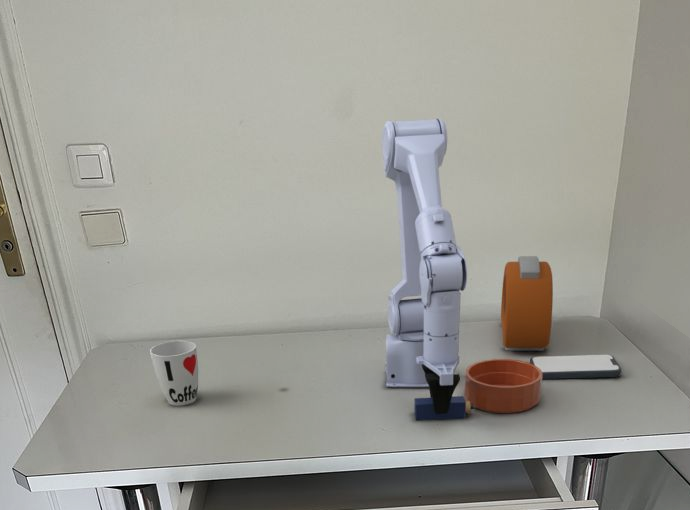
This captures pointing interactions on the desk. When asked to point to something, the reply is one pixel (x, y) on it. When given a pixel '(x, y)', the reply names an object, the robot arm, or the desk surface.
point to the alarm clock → (527, 304)
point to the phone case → (577, 366)
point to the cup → (176, 370)
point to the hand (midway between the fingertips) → (439, 408)
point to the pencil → (426, 412)
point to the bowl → (503, 385)
